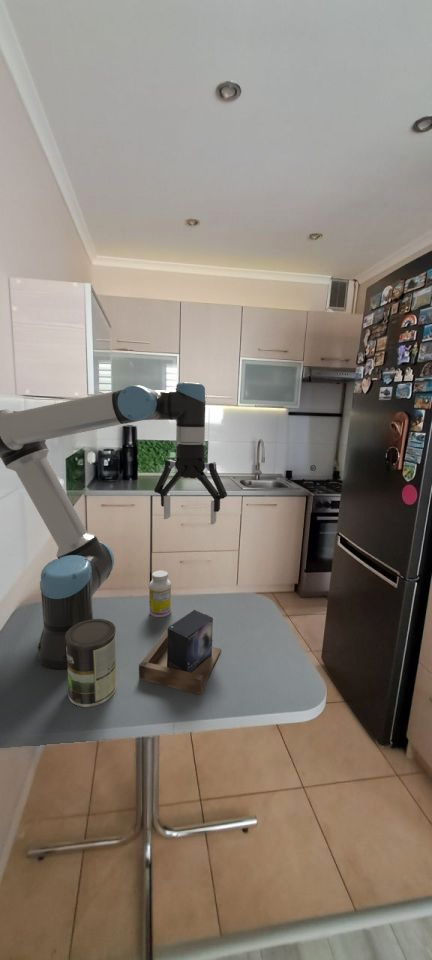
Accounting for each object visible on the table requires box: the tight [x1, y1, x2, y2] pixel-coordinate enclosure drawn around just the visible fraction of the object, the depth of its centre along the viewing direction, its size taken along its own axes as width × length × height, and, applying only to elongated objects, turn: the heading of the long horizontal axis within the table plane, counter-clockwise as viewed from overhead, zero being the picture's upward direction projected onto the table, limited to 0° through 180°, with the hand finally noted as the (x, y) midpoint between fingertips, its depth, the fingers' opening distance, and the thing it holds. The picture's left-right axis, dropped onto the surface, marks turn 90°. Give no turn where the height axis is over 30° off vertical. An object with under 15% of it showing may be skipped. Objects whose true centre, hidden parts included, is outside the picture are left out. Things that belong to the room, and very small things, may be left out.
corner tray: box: [138, 627, 222, 696], centre depth 89 cm, size 15×16×4 cm
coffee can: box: [65, 618, 118, 708], centre depth 80 cm, size 10×10×14 cm
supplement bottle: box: [148, 569, 172, 618], centre depth 112 cm, size 7×7×13 cm
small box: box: [167, 609, 214, 673], centre depth 89 cm, size 11×6×10 cm, turn 145°
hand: (189, 520), depth 101 cm, fingers open, 13 cm apart
